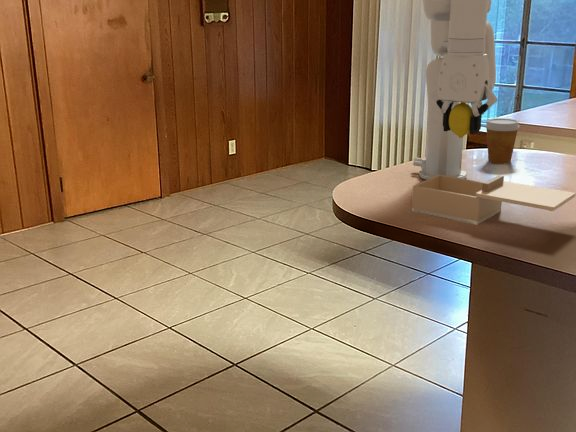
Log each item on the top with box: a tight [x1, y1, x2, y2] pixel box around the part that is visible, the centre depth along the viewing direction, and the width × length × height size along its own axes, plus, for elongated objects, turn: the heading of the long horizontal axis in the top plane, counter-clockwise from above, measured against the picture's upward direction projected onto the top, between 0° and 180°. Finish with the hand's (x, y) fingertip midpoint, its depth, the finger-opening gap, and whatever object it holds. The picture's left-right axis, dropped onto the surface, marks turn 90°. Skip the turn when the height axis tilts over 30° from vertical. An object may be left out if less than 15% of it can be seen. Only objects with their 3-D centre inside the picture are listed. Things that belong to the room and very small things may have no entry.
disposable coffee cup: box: [484, 118, 521, 165], centre depth 191 cm, size 10×10×12 cm
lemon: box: [449, 102, 473, 138], centre depth 144 cm, size 6×6×8 cm
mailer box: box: [411, 175, 503, 226], centre depth 149 cm, size 16×12×6 cm
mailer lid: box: [475, 174, 576, 212], centre depth 138 cm, size 16×12×3 cm
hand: (461, 131), depth 144 cm, fingers closed on lemon, 5 cm apart
